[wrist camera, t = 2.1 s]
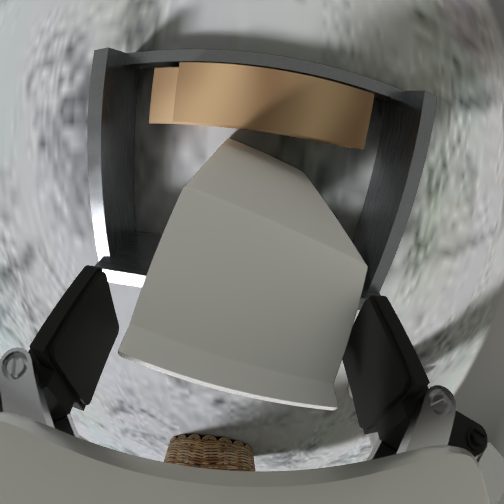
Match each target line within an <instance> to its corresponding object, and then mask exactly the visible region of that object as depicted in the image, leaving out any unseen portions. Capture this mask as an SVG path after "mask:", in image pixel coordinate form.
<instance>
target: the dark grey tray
mask: <svg viewBox="0 0 504 504" xmlns="http://www.w3.org/2000/svg"><path fill="white" fill-rule="evenodd" d="M180 62H201V63H222V64H235V65H245V66H254V67H262V68H269V69H276V70H282V71H287V72H293V73H298V74H303V75H308V76H312V77H317V78H321V79H325V80H329V81H333V82H337V83H340V84H344V85H347V86H351V87H354V88H357V89H360V90H364V91H367V92H370V93H373V94H374V97H375V98H378V99H381V100H384V101H387V103H386V109H385V115H384V120H383V126H382V131H381V136H380V141H379V146H378V150H377V155H376V159H375V163H374V168H373V172H372V176H371V180H370V184H369V188H368V192H367V195H366V199H365V203H364V206H363V210H362V213H361V217H360V220H359V224H358V227H357V230H356V234H355V237H354V240H353V244H354V246H355V247H356V249H357V251H358V252H359V254H360V255H361V257H362V259H363V260H364V262H365V264H366V265H367V266H368V268H367V272H366V277H365V281H364V285H363V289H362V293H361V297H360V301H359V305H358V309H357V310H361V308H362V306H363V303H364V302H365V300H366V299H369V297H370V296H372V295H375V296H381V295H380V293H379V292H380V290H381V287H382V285H383V283H384V281H385V278H386V276H387V274H388V271H389V269H390V266H391V264H392V261H393V259H394V256H395V254H396V251H397V249H398V246H399V243H400V241H401V238H402V235H403V232H404V230H405V227H406V224H407V221H408V218H409V215H410V212H411V209H412V206H413V202H414V199H415V196H416V193H417V189H418V186H419V182H420V178H421V175H422V171H423V167H424V163H425V159H426V155H427V150H428V146H429V141H430V136H431V131H432V126H433V120H434V115H435V108H436V102H437V97H436V96H434V95H432V94H430V93H428V92H426V91H403V90H401V89H398V88H396V87H393V86H391V85H388V84H385V83H383V82H380V81H377V80H374V79H371V78H368V77H365V76H362V75H359V74H356V73H353V72H349V71H346V70H342V69H339V68H335V67H331V66H327V65H323V64H319V63H315V62H310V61H305V60H300V59H295V58H290V57H284V56H278V55H271V54H264V53H255V52H246V51H234V50H216V49H173V50H155V51H144V52H134V53H124V52H121V51H118V50H115V49H112V48H104V49H99V50H95V51H94V57H93V64H92V72H91V81H90V92H89V106H88V176H89V191H90V202H91V212H92V220H93V228H94V235H95V242H96V248H97V254H98V260H99V261H98V263H97V264H96V265H95V267H100V268H102V270H103V272H105V273H106V275H107V279H108V282H113V283H118V284H124V285H130V286H136V287H142V286H143V284H144V281H145V278H146V275H147V273H148V270H149V267H150V265H151V262H152V260H153V257H154V254H155V252H156V249H157V247H158V244H159V242H160V240H161V237H162V235H163V234H157V233H147V232H138V231H136V225H135V207H134V132H135V114H136V101H137V90H138V80H139V72H140V69H143V68H158V67H179V63H180Z"/></svg>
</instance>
